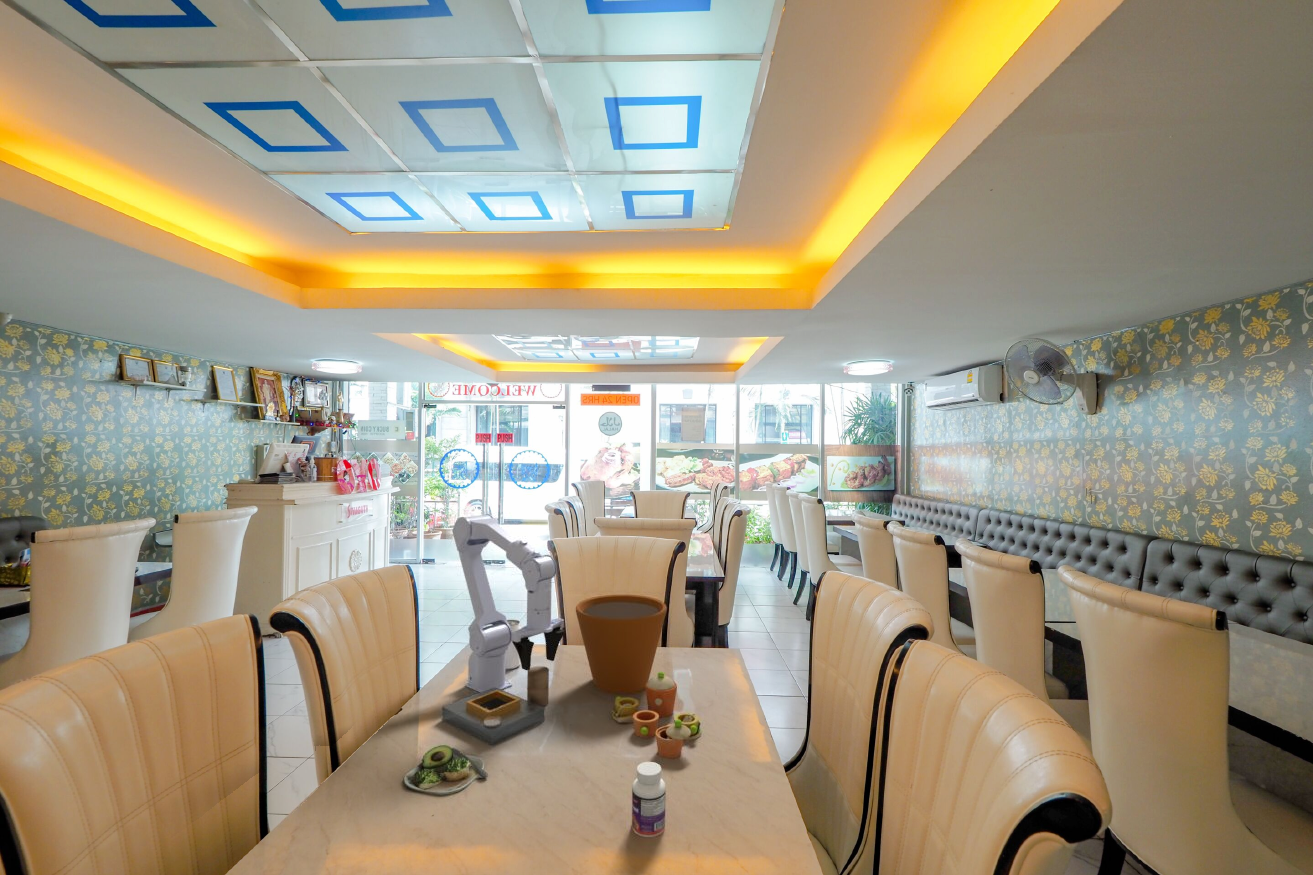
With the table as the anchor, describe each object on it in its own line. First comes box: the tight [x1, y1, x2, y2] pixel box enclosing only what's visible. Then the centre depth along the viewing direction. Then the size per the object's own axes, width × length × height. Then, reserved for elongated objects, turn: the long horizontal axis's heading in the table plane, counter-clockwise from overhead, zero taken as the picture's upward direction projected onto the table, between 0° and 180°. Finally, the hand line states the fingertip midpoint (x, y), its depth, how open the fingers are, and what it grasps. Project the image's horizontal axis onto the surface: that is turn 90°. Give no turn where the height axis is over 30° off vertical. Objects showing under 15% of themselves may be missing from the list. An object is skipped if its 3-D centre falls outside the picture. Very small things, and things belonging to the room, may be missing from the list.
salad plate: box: [402, 744, 489, 796], centre depth 108 cm, size 15×14×4 cm
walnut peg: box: [526, 665, 550, 708], centre depth 138 cm, size 5×5×8 cm
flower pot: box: [575, 594, 668, 695], centre depth 152 cm, size 24×24×20 cm
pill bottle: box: [631, 761, 666, 838], centre depth 93 cm, size 5×5×10 cm
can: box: [505, 619, 522, 670], centre depth 162 cm, size 6×6×12 cm
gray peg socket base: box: [441, 687, 545, 747], centre depth 129 cm, size 18×14×4 cm
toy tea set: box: [612, 671, 702, 759], centre depth 126 cm, size 26×16×10 cm, turn 30°
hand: (538, 664), depth 138 cm, fingers open, 7 cm apart
